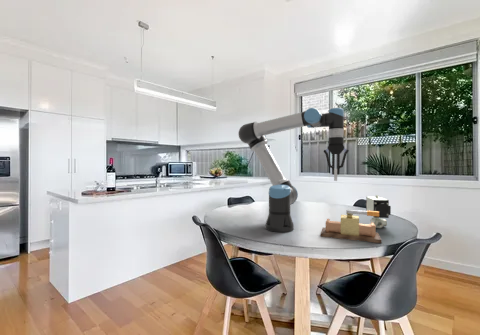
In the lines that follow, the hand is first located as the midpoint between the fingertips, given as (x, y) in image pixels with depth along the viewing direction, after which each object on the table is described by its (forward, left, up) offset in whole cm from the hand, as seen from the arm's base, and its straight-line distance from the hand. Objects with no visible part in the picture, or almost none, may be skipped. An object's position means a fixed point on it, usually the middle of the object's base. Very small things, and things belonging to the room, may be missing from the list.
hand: (335, 180), depth 134 cm
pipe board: (+7, -12, -26) cm, 30 cm away
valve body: (+7, -12, -25) cm, 29 cm away
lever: (+13, -12, -16) cm, 23 cm away
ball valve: (+22, +14, -27) cm, 37 cm away
